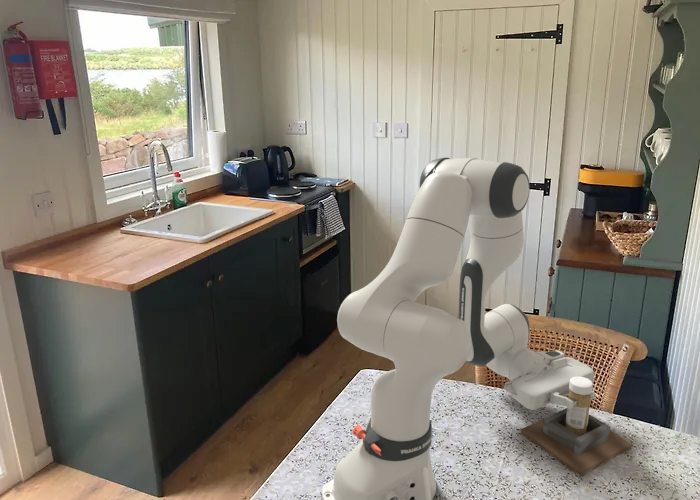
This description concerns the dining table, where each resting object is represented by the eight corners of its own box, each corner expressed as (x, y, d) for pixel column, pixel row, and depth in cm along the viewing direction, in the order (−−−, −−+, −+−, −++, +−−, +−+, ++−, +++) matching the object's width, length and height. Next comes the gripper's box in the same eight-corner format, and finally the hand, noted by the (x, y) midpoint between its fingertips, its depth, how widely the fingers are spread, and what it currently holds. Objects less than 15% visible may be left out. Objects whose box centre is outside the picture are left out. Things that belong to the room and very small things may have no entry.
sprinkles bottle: (589, 435, 123) (597, 381, 119) (580, 445, 120) (587, 389, 116) (569, 426, 127) (575, 373, 122) (559, 435, 124) (565, 381, 119)
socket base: (580, 476, 113) (583, 456, 112) (520, 433, 126) (521, 415, 125) (631, 448, 121) (634, 429, 120) (569, 411, 134) (571, 393, 133)
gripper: (500, 373, 125) (550, 403, 114) (563, 348, 135) (616, 374, 124) (498, 397, 127) (547, 430, 116) (561, 372, 137) (612, 399, 126)
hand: (583, 400), depth 120 cm, fingers closed on sprinkles bottle, 4 cm apart
